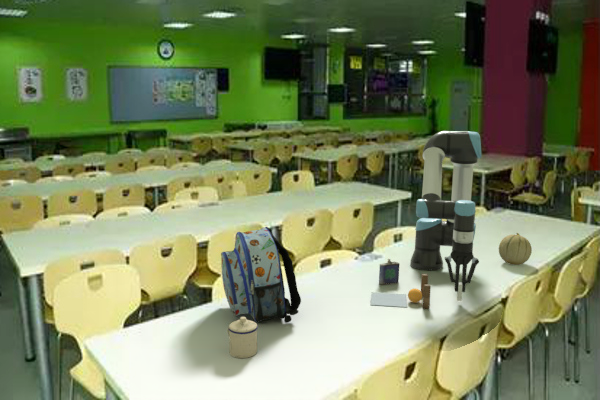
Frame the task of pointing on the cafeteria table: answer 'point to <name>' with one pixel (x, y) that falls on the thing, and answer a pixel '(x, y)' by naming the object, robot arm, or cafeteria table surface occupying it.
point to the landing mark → (388, 299)
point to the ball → (415, 295)
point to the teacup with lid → (243, 338)
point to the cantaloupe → (515, 249)
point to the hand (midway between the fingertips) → (459, 299)
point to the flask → (389, 273)
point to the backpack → (259, 277)
